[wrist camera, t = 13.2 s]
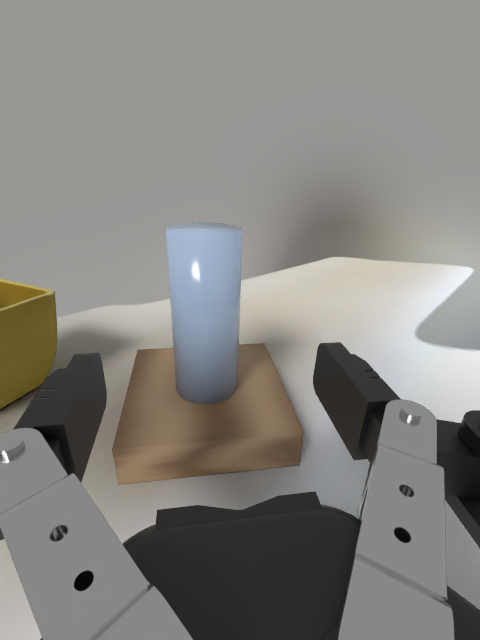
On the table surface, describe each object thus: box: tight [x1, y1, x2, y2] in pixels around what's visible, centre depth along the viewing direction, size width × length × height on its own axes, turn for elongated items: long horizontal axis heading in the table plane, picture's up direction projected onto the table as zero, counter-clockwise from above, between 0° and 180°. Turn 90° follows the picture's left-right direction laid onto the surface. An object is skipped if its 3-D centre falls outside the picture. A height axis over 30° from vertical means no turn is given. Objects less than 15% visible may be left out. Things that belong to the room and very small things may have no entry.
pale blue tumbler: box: [166, 223, 243, 404], centre depth 24 cm, size 5×5×12 cm
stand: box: [112, 343, 304, 484], centre depth 27 cm, size 12×12×3 cm
